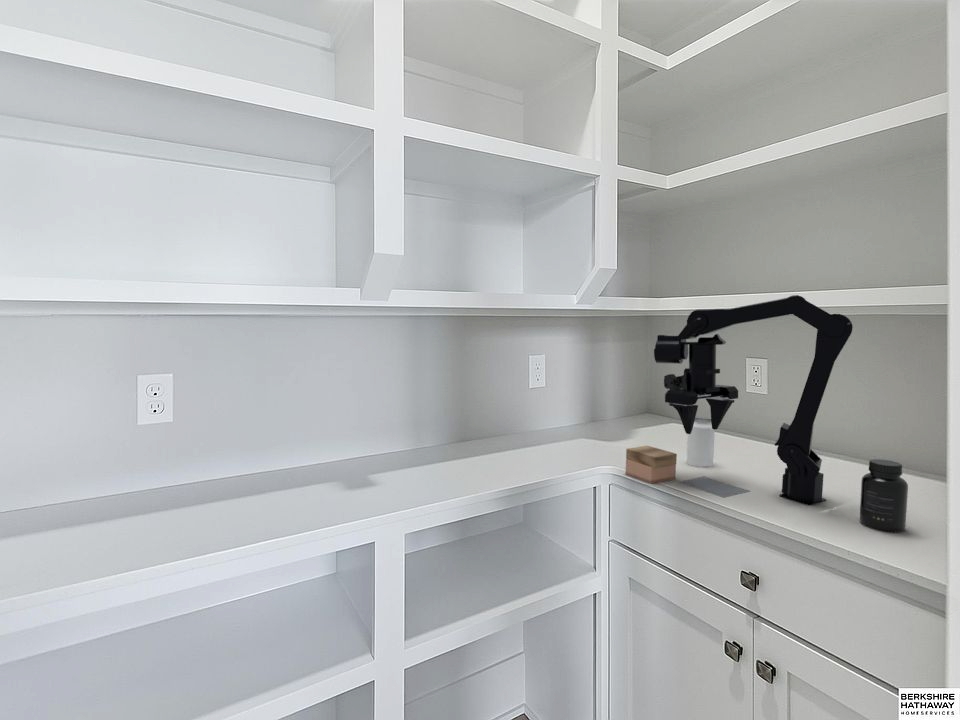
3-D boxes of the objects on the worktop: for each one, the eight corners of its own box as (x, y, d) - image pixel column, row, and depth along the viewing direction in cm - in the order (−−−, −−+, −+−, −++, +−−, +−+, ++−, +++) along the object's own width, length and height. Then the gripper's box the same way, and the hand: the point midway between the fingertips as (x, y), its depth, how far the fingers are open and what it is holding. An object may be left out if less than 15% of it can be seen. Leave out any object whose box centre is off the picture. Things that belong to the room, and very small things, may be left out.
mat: (750, 492, 115) (750, 490, 115) (723, 499, 111) (723, 497, 111) (703, 478, 126) (703, 476, 126) (677, 483, 122) (677, 481, 122)
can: (684, 466, 136) (686, 420, 135) (687, 460, 141) (689, 416, 140) (712, 470, 133) (714, 423, 132) (714, 463, 138) (716, 418, 137)
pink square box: (675, 480, 124) (675, 463, 124) (650, 485, 120) (651, 467, 120) (649, 471, 131) (649, 455, 131) (625, 475, 127) (626, 459, 127)
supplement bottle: (863, 515, 102) (867, 455, 101) (908, 526, 97) (913, 462, 96) (854, 525, 98) (859, 461, 97) (901, 536, 93) (906, 469, 92)
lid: (676, 464, 123) (676, 453, 123) (654, 468, 120) (655, 457, 119) (646, 455, 131) (647, 445, 131) (626, 458, 127) (626, 448, 127)
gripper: (699, 360, 132) (698, 422, 133) (646, 364, 123) (646, 430, 124) (740, 363, 123) (739, 429, 124) (686, 367, 114) (685, 438, 115)
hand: (701, 431), depth 122 cm, fingers open, 9 cm apart
